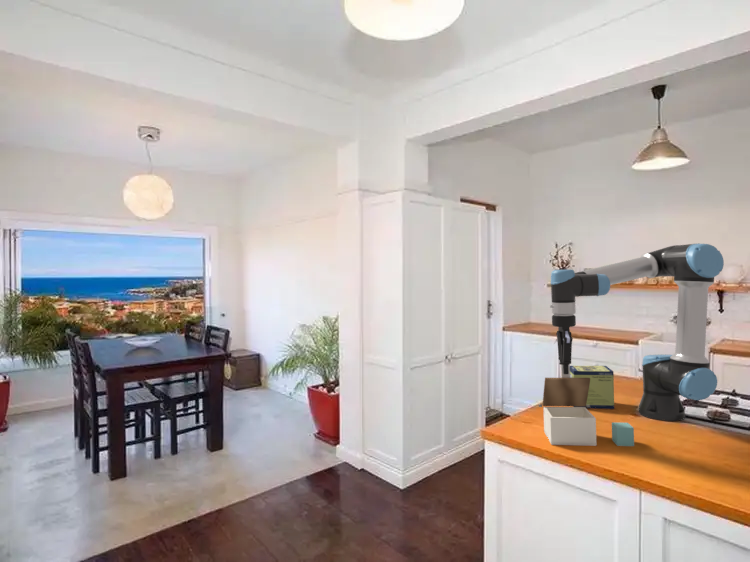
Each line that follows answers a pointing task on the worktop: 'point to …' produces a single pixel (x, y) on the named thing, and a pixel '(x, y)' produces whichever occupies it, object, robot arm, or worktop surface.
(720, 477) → the worktop surface
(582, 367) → the protein box
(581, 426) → the box
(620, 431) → the block
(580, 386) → the lid
